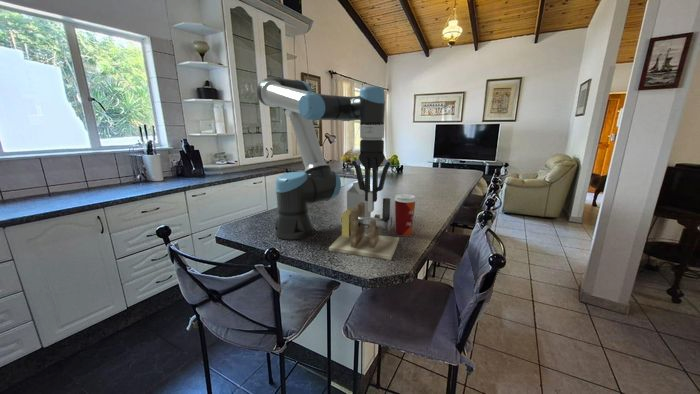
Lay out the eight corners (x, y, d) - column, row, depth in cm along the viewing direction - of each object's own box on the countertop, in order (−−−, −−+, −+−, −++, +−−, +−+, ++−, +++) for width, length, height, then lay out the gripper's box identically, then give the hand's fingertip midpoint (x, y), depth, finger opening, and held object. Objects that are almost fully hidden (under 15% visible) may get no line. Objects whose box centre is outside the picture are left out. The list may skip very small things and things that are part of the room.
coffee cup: (414, 238, 103) (416, 199, 99) (392, 236, 104) (393, 198, 101) (414, 230, 111) (416, 194, 107) (393, 228, 112) (394, 193, 109)
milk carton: (370, 226, 115) (371, 181, 111) (359, 230, 110) (359, 184, 106) (358, 222, 120) (358, 179, 115) (346, 226, 115) (346, 181, 110)
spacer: (342, 236, 94) (341, 214, 92) (349, 228, 101) (349, 207, 99) (348, 237, 93) (348, 214, 91) (356, 229, 100) (356, 208, 98)
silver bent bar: (340, 226, 95) (340, 196, 93) (344, 222, 99) (344, 193, 97) (389, 232, 90) (390, 200, 87) (391, 227, 94) (393, 197, 91)
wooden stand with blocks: (328, 250, 92) (328, 210, 89) (345, 233, 107) (344, 199, 103) (390, 260, 86) (392, 217, 82) (399, 240, 100) (400, 203, 97)
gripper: (348, 139, 85) (349, 211, 91) (390, 139, 81) (387, 215, 87) (355, 138, 92) (355, 206, 98) (394, 138, 88) (392, 209, 94)
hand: (370, 210), depth 92 cm, fingers closed
